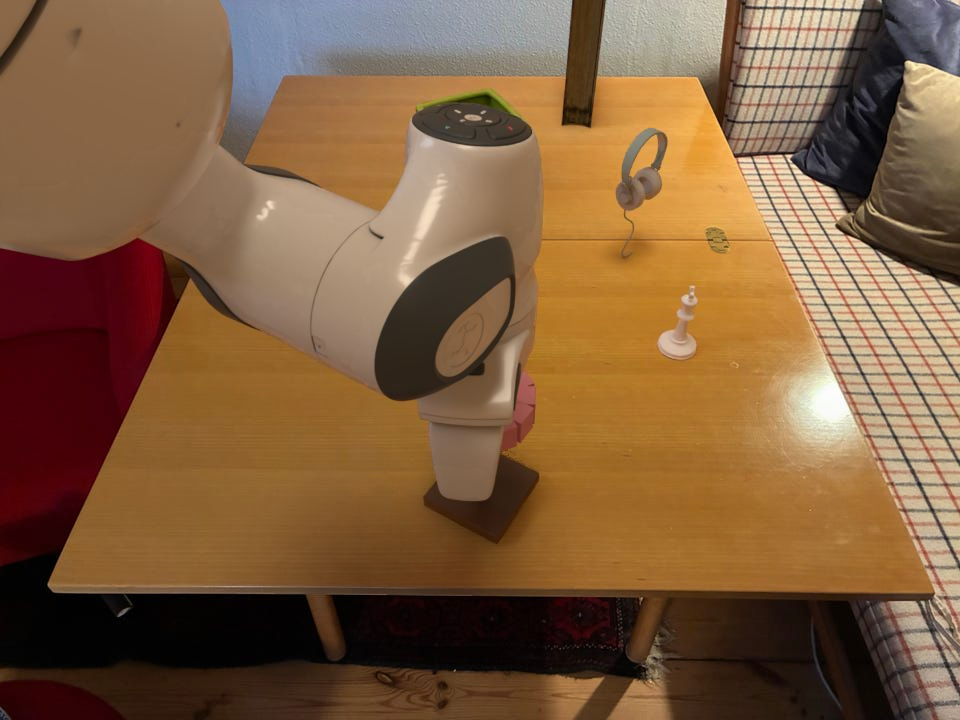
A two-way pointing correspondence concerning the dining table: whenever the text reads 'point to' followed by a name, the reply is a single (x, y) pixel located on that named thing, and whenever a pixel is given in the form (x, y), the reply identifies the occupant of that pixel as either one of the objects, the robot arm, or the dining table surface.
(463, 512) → the stand
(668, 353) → the chess piece
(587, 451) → the dining table surface
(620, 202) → the headphones
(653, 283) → the dining table surface
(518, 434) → the ring
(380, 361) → the robot arm
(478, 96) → the flower pot
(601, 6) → the book
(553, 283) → the dining table surface
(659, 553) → the dining table surface
